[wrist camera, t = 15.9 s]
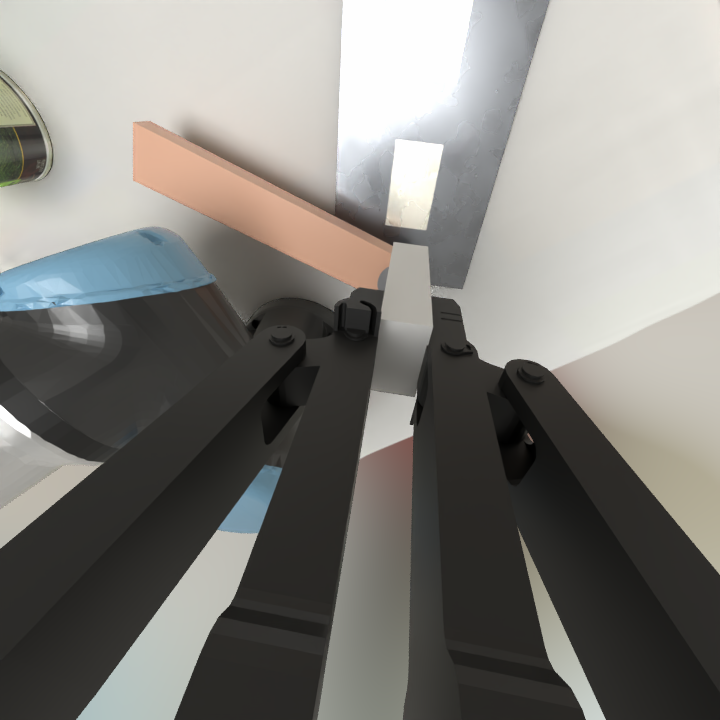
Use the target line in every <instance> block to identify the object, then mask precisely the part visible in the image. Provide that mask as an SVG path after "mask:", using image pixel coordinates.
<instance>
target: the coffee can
mask: <svg viewBox="0 0 720 720" xmlns="http://www.w3.org/2000/svg"><path fill="white" fill-rule="evenodd" d="M51 165H52V146H51V141H50V138H49V135H48V132H47V129H46V127H45V125H44V123H43V121H42V119H41V117H40V115H39V114H38V112H37V110H36V109H35V107H34V106H33V104H32V103H31V101H30V100H29V99H28V98H27V96H26V95H25V94H24V93H23V91H22V90H21V89H20V88H19V87H18V86H17V85H16V84H15V83H14V82H13V81H12V80H11V79H10V78H9V77H8V76H7V75H6V74H4V73H3V72H2V71H0V187H4V186H9V185H14V184H19V183H24V182H34V181H38V180H40V179H42V178H44V177H45V176H46V175H47V174H48V172H49V171H50V168H51Z"/></svg>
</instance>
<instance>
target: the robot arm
mask: <svg viewBox="0 0 720 720" xmlns="http://www.w3.org/2000/svg"><path fill="white" fill-rule="evenodd" d="M216 280H217V279H216V278H215V276H214V275H213V274H211V273H208V271H207V270H206V269H205V267H204V266H203V265H202V263H201V262H200V261H199V260H198V258H197V257H196V256H195V254H194V253H193V252H192V251H191V249H190V248H189V247H188V245H187V244H186V243H185V242H184V240H183V239H182V238H181V237H179V236H178V235H177V234H176V233H174V232H172V231H170V230H168V229H165V228H160V227H146V228H141V229H137V230H133V231H129V232H125V233H122V234H118V235H115V236H111V237H108V238H104V239H101V240H98V241H94V242H91V243H88V244H85V245H82V246H78V247H75V248H72V249H69V250H66V251H63V252H60V253H56V254H53V255H50V256H47V257H44V258H41V259H38V260H36V261H33V262H30V263H27V264H24V265H21V266H18V267H15V268H13V269H10V270H7V271H4V272H3V273H0V509H1V508H3V507H4V506H6V505H7V504H8V503H10V502H11V501H13V500H14V499H16V498H17V497H19V496H20V495H21V494H23V493H24V492H26V491H27V490H29V489H30V488H32V487H33V486H34V485H36V484H37V483H39V482H40V481H41V480H43V479H45V478H46V477H47V476H49V475H50V474H52V473H53V472H55V471H56V470H58V469H59V468H60V467H62V466H64V465H86V466H89V465H90V466H97V465H101V466H100V467H98V468H97V469H96V470H95V471H93V472H92V473H91V474H90V475H89V476H87V477H86V478H85V479H84V480H83V481H81V482H80V483H79V484H78V485H77V486H75V487H74V488H73V489H72V490H71V491H69V492H68V493H67V494H66V495H64V496H63V497H62V498H61V499H60V500H58V501H57V502H56V503H55V504H54V505H52V506H51V507H50V508H49V509H48V510H46V511H45V512H44V513H43V514H42V515H40V516H39V517H38V518H37V519H36V520H34V521H33V522H32V523H31V524H30V525H28V526H27V527H26V528H25V529H24V530H22V531H21V532H20V533H19V534H18V535H16V536H15V537H14V538H13V539H12V540H10V541H9V542H8V543H7V544H6V545H5V546H3V547H2V548H1V549H0V720H76V719H77V718H78V716H79V715H80V714H81V712H82V711H83V710H84V708H85V707H86V706H87V705H88V703H89V702H90V701H91V700H92V699H93V697H94V696H95V695H96V693H97V692H98V691H99V689H100V688H101V687H102V685H103V684H104V683H105V681H106V680H107V679H108V677H109V676H110V675H111V673H112V672H113V670H114V669H115V668H116V666H117V665H118V664H119V662H120V661H121V660H122V658H123V657H124V656H125V654H126V653H127V651H128V650H129V649H130V647H131V646H132V645H133V643H134V642H135V640H136V639H137V638H138V637H139V635H140V634H141V632H142V631H143V630H144V628H145V627H146V626H147V624H148V623H149V621H150V620H151V619H152V617H153V616H154V615H155V613H156V612H157V611H158V609H159V608H160V607H161V605H162V604H163V603H164V601H165V600H166V598H167V597H168V596H169V594H170V593H171V592H172V590H173V589H174V588H175V586H176V585H177V584H178V582H179V581H180V579H181V578H182V577H183V575H184V574H185V573H186V571H187V570H188V569H189V567H190V566H191V565H192V563H193V562H194V560H195V559H196V558H197V556H198V555H199V554H200V552H201V551H202V550H203V548H204V547H205V546H206V544H207V543H208V541H209V540H210V539H211V537H212V536H213V535H214V533H215V532H216V530H221V531H228V532H236V533H258V536H257V539H256V541H255V544H254V547H253V549H252V552H251V555H250V558H249V560H248V563H247V566H246V569H245V572H244V574H243V577H242V579H241V582H240V585H239V587H238V590H237V592H236V595H235V597H234V599H233V600H232V602H231V604H230V606H229V607H228V608H227V609H226V610H225V611H224V612H223V613H222V614H221V615H220V616H219V617H218V619H217V621H216V623H215V624H214V626H213V628H212V629H211V631H210V633H209V635H208V637H207V640H206V642H205V644H204V647H203V649H202V651H201V653H200V656H199V658H198V660H197V663H196V666H195V668H194V671H193V673H192V676H191V678H190V681H189V683H188V686H187V689H186V691H185V694H184V696H183V698H182V701H181V704H180V706H179V709H178V711H177V714H176V716H175V719H174V720H317V717H318V711H319V705H320V699H321V692H322V686H323V678H324V672H325V666H326V660H327V654H328V647H329V641H330V635H331V629H332V623H333V617H334V611H335V604H336V599H337V593H338V587H339V580H340V574H341V568H342V562H343V556H344V550H345V544H346V538H347V531H348V525H349V519H350V513H351V507H352V501H353V495H354V488H355V483H356V477H357V471H358V464H359V458H360V452H361V446H362V440H363V434H364V428H365V422H366V416H367V409H368V403H369V397H370V390H374V391H380V392H387V393H393V394H399V395H405V396H412V397H415V394H416V390H417V399H416V403H415V406H414V410H413V414H412V418H411V421H410V425H413V424H414V433H413V482H412V533H411V580H410V581H411V582H410V630H409V632H410V633H409V674H408V686H407V693H406V699H405V705H404V713H403V720H586V719H585V716H584V713H583V710H582V708H581V706H580V704H579V702H578V701H577V699H576V697H575V695H574V693H573V691H572V689H571V688H570V687H569V686H568V685H567V684H566V682H565V681H563V679H562V678H561V677H560V676H559V675H558V674H557V673H556V672H555V671H554V669H553V667H552V665H551V663H550V661H549V659H548V656H547V653H546V649H545V646H544V642H543V637H542V633H541V628H540V624H539V620H538V615H537V611H536V606H535V602H534V598H533V593H532V589H531V585H530V580H529V576H528V572H527V567H526V563H525V558H524V554H523V550H522V546H521V541H520V536H519V532H518V528H519V531H520V533H521V535H522V537H523V540H524V542H525V544H526V546H527V548H528V550H529V553H530V555H531V557H532V559H533V561H534V564H535V566H536V568H537V570H538V572H539V574H540V576H541V579H542V581H543V583H544V585H545V587H546V590H547V592H548V594H549V596H550V598H551V601H552V603H553V605H554V607H555V609H556V612H557V614H558V616H559V618H560V620H561V622H562V625H563V627H564V629H565V631H566V633H567V636H568V638H569V640H570V642H571V644H572V647H573V648H574V651H575V653H576V655H577V657H578V659H579V662H580V664H581V666H582V668H583V670H584V673H585V675H586V677H587V679H588V681H589V683H590V686H591V688H592V690H593V692H594V695H595V697H596V699H597V701H598V703H599V705H600V707H601V710H602V712H603V714H604V716H605V718H606V720H720V575H719V573H718V572H717V571H716V570H715V569H714V567H713V566H712V565H711V564H710V563H709V561H708V560H707V559H706V558H705V557H704V555H703V554H702V553H701V552H700V550H699V549H698V548H697V547H696V546H695V544H694V543H692V541H691V540H690V538H689V537H688V536H687V535H686V534H685V532H684V531H683V530H682V529H681V528H680V526H679V525H678V524H677V523H676V522H675V520H674V519H673V518H672V517H671V516H670V514H669V513H668V512H667V511H666V510H665V509H664V507H663V506H662V505H661V503H660V502H659V501H658V500H657V499H656V497H655V496H654V495H653V494H652V493H651V492H650V490H649V489H648V488H647V487H646V485H645V484H644V483H643V482H642V481H641V479H640V478H639V477H638V476H637V475H636V473H635V472H634V471H633V470H632V469H631V467H630V466H629V465H628V464H627V463H626V461H625V460H624V459H623V458H622V457H621V455H620V454H619V453H618V452H617V450H616V449H615V448H614V447H613V446H612V445H611V443H610V442H609V441H608V440H607V439H606V437H605V436H604V435H603V434H602V432H601V431H600V430H599V429H598V428H597V426H596V425H595V424H594V423H593V422H592V420H591V419H590V418H589V417H588V416H587V414H586V413H585V412H584V411H583V410H582V408H581V407H580V406H579V405H578V404H577V402H576V401H575V400H574V399H573V398H572V396H571V395H570V394H569V393H568V392H567V390H566V389H565V388H564V387H563V386H562V384H561V383H560V382H559V381H558V379H557V378H556V377H555V376H554V375H553V374H552V373H551V372H550V371H549V370H548V369H547V368H545V367H543V366H541V365H540V364H538V363H536V362H533V361H529V360H522V359H517V360H511V361H510V362H508V363H507V364H506V366H505V368H504V369H503V368H500V367H497V366H494V365H492V364H489V363H487V362H484V361H482V360H481V359H479V357H478V353H477V350H476V349H475V347H474V346H473V345H472V344H471V343H470V342H468V341H467V340H466V335H465V330H464V325H463V323H462V322H463V320H462V316H461V310H460V307H459V305H458V304H457V303H456V302H455V301H454V300H453V299H446V298H439V297H432V296H431V286H430V270H429V254H428V246H420V245H413V244H405V243H398V242H393V248H392V253H391V259H390V264H389V270H388V275H387V281H386V286H385V291H382V290H375V289H368V288H361V287H359V288H357V289H356V290H355V291H353V292H352V293H351V296H350V298H347V299H343V300H341V301H338V302H337V303H336V304H335V306H334V313H333V312H332V311H330V310H329V309H327V308H325V307H323V306H321V305H319V304H317V303H314V302H311V301H308V300H303V299H296V298H286V299H279V300H275V301H272V302H269V303H267V304H265V305H263V306H262V307H260V308H259V309H258V310H257V311H256V312H255V313H254V314H253V316H252V317H251V318H250V319H249V321H248V322H247V323H246V325H244V323H243V322H242V320H241V319H240V317H239V316H238V315H237V313H236V312H235V310H234V309H233V308H232V306H231V305H230V303H229V302H228V300H227V299H226V298H225V296H224V295H223V293H222V292H221V291H220V289H219V288H218V286H217V285H216V283H215V281H216ZM528 433H529V434H530V436H531V438H532V439H533V442H532V441H531V440H530V439H529V437H528V435H527V434H528ZM517 526H518V528H517Z"/></svg>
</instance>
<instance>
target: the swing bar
mask: <svg viewBox="0 0 720 720" xmlns="http://www.w3.org/2000/svg"><path fill="white" fill-rule="evenodd" d="M133 180H134V181H136V182H138V183H140V184H142V185H144V186H146V187H148V188H150V189H152V190H154V191H156V192H158V193H160V194H162V195H165V196H167V197H169V198H171V199H173V200H175V201H177V202H179V203H181V204H183V205H185V206H187V207H189V208H191V209H193V210H196V211H198V212H200V213H202V214H204V215H206V216H208V217H210V218H212V219H214V220H216V221H218V222H220V223H222V224H224V225H227V226H229V227H231V228H233V229H235V230H237V231H239V232H241V233H243V234H245V235H247V236H249V237H251V238H253V239H255V240H258V241H260V242H262V243H264V244H266V245H268V246H270V247H272V248H274V249H276V250H278V251H280V252H282V253H284V254H286V255H289V256H291V257H293V258H295V259H297V260H299V261H301V262H303V263H305V264H307V265H309V266H311V267H313V268H315V269H317V270H320V271H322V272H324V273H326V274H328V275H330V276H332V277H334V278H336V279H338V280H340V281H342V282H344V283H346V284H348V285H351V286H353V287H355V288H359V287H361V288H368V289H375V290H382V291H385V286H386V281H387V275H388V270H389V264H390V259H391V253H392V248H393V246H392V245H390V244H388V243H386V242H384V241H382V240H380V239H378V238H376V237H374V236H372V235H370V234H368V233H366V232H364V231H362V230H360V229H359V228H357V227H355V226H353V225H351V224H349V223H347V222H345V221H343V220H341V219H339V218H337V217H335V216H333V215H331V214H329V213H327V212H325V211H324V210H322V209H320V208H318V207H316V206H314V205H312V204H310V203H308V202H306V201H304V200H302V199H300V198H298V197H296V196H294V195H292V194H291V193H289V192H287V191H285V190H283V189H281V188H279V187H277V186H275V185H273V184H271V183H269V182H267V181H265V180H263V179H261V178H259V177H257V176H256V175H254V174H252V173H250V172H248V171H246V170H244V169H242V168H240V167H238V166H236V165H234V164H232V163H230V162H228V161H226V160H224V159H223V158H221V157H219V156H217V155H215V154H213V153H211V152H209V151H207V150H205V149H203V148H201V147H199V146H197V145H195V144H193V143H191V142H189V141H188V140H186V139H184V138H182V137H180V136H178V135H176V134H174V133H172V132H170V131H168V130H166V129H164V128H162V127H160V126H158V125H156V124H155V123H153V122H151V121H143V122H133Z"/></svg>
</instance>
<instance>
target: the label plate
mask: <svg viewBox="0 0 720 720" xmlns="http://www.w3.org/2000/svg"><path fill="white" fill-rule="evenodd" d="M548 3H549V0H343V20H342V46H341V73H340V99H339V126H338V152H337V179H336V206H335V217H337V218H339V219H341V220H343V221H345V222H347V223H349V224H351V225H353V226H355V227H357V228H359V229H360V230H362V231H364V232H366V233H368V234H370V235H372V236H374V237H376V238H378V239H380V240H382V241H384V242H386V243H388V244H390V245H392V246H393V242H398V243H405V244H413V245H420V246H428V254H429V270H430V285H436V286H444V287H451V288H458V289H463V285H464V282H465V279H466V275H467V272H468V269H469V265H470V262H471V259H472V255H473V252H474V249H475V246H476V242H477V239H478V236H479V232H480V229H481V226H482V222H483V219H484V216H485V212H486V209H487V206H488V202H489V199H490V196H491V192H492V189H493V186H494V183H495V179H496V176H497V173H498V169H499V166H500V163H501V159H502V156H503V153H504V149H505V146H506V143H507V139H508V136H509V133H510V129H511V126H512V123H513V120H514V116H515V113H516V110H517V106H518V103H519V100H520V96H521V93H522V90H523V86H524V83H525V80H526V76H527V73H528V70H529V66H530V63H531V60H532V57H533V53H534V50H535V47H536V43H537V40H538V37H539V33H540V30H541V27H542V23H543V20H544V17H545V13H546V10H547V7H548Z"/></svg>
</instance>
